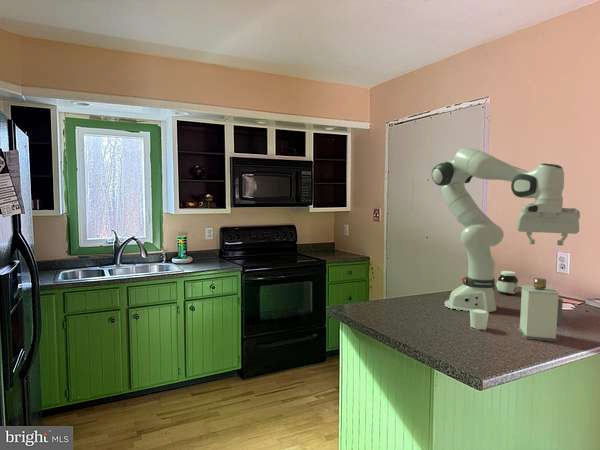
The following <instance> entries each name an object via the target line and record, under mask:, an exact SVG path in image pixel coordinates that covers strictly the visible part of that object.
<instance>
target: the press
mask: <svg viewBox="0 0 600 450" xmlns="http://www.w3.org/2000/svg"><path fill="white" fill-rule="evenodd" d="M559 293H560V292H558V291H557V290H555V289H553V288H552V287H551V286H546V288H542V289H541V290H538V288H535V287H534V285H523V284H522V285H521V300H520V301H521V302H520V315H519V316H520V319H519V320H520V321H519V327H518V331H519V333H520V332H521V333H522V334H521V333H520V334H521V336H522V337H523V336H524V337H525V338H528V339H527V340H531V339H537V340H536V341H542V340H547V341H546V342H553V341H556V342H555V343H558V338H557V329H558V328H557V327H561V328H562V322H563V321H562V319H563V305H564V304H563V303H564V301H563V299H562V298H559ZM524 337H523V338H524ZM525 338H524V339H525Z"/></svg>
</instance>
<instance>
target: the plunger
mask: <svg viewBox="0 0 600 450" xmlns="http://www.w3.org/2000/svg"><path fill="white" fill-rule="evenodd" d="M533 286H534V287H535V288H538V290H541V289H542V288H546V287H547V279H546V278H541V277H534V278H533Z"/></svg>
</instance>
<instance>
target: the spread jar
mask: <svg viewBox="0 0 600 450" xmlns="http://www.w3.org/2000/svg"><path fill="white" fill-rule="evenodd" d="M500 274H501V275H500V276H499V277H498V278H497V282H496V283H495V288H497V292H498V293H499V294H501V295H504V296H515V295H516V294H517V293H518V290H519V289H518V288H519V280H518V277H517V276H516V272H515V271H511V270H501V271H500Z"/></svg>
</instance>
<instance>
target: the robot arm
mask: <svg viewBox="0 0 600 450" xmlns="http://www.w3.org/2000/svg"><path fill="white" fill-rule="evenodd" d="M431 178H432V180H433V182H434V184H435V185H437V186H440V187H441V195H442V197H443V200H444V201H445V203H446V206H448V209H449V210H450V212H451V213H452V214H453V217H454V218H455V219H456V220H457V222H458V223H459V224H461V225H462V226H464V229H463V230H462V231H461V234H460V241H461V244H462V245H463V246H464V247H465V251H466V254H467V260H468V263H467V265H468V267H467V276H464V275H462V276H461V277H460V278H461V280H462V284H461V285H459V286H458V287H456V288H455V289H453V290H452V291H451V293H450V295H449V299H446V300H445V301H444V304H445V305H444V307H445V306H446V307H448V308H450V309H449V310H452V309H456V310H455V311H460V310H463V311H462V312H468V311H469V313H470V310H471V309H482V310H486V311H488V312H489V313H490V312H491V313H492V312H495V311H497V309H498V308H497V305H496V299H495V289H496V279H495V265H496V264H495V260H494V258H493V257H492V254H491V247H495V246H497V245H498V244H500V243H501V242H502V241H503V239H504V231H503V228H502V227H500V226H499V225H498V224H496V223H495V222H494V221H493V220H491V218H490V217H489V216H487V215H486V214H485V213H484V211H483V210H481V208H480V207H479V206H478V204H477V203H476V202H475V200H474V199H473V198H472V195H470V193H469V192H468V190H467V189H466V187H465V185H466V184H468V183H470V182H471V180H472V178H477V179H481V180H488V181H489V180H491V181H494V180H495V181H496V180H497V181H506V182H507V181H508V182H511V183H510V189H511V192H512V194H513V195H514V197H517V198H521V199H534V202H532V203H529V204H525V205H522V206H521V207H520V211H521V212H519V214H518V215H517V220H516V225H515V226H516V227H515V228H516V230H517V231H518V232H521V233H526V236H527V238H528V239H529V240H528V244H529V245H535V244H536V243H535V242H536V239H534V238H532V235H533V233H545V234H547V233H548V234H549V233H550V234H561V238H560V239H558V240H557V243H556V244H557V246H564V241H565V240H566V239H567V237H568V234H570V235H571V234H572V235H573V234H574V235H575V234H578V233H579V232H580V222H579V221H580V218H581V212H580V211H579V210H578V209H577V208H574V207H572V208H569V207H563V206H564V205H563V204H564V197H563V191H564V187H565V172H564V168H563V167H562V166H561V165H558V164H555V163H540V164H538V166H537V167H534V168H533V169H531V170H525V169H524V168H523V169H522V168H519V167H517V166H515V165H511V164H509V163H507V162H505V161H503V160H501V159H498V158H497V157H495V156H492V155H491V154H489V153H486V152H485V151H482V150H479V149H475V148H470V147H469V148H468V147H463V148H460V149H458V151H457V152H456V153H455V155H454V157H453V159H450V160H447V161H445V162H440V163H438V164H436V165H435V166H434V167H433V168H432V171H431ZM446 307H445V308H446ZM448 308H447V309H448Z"/></svg>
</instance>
